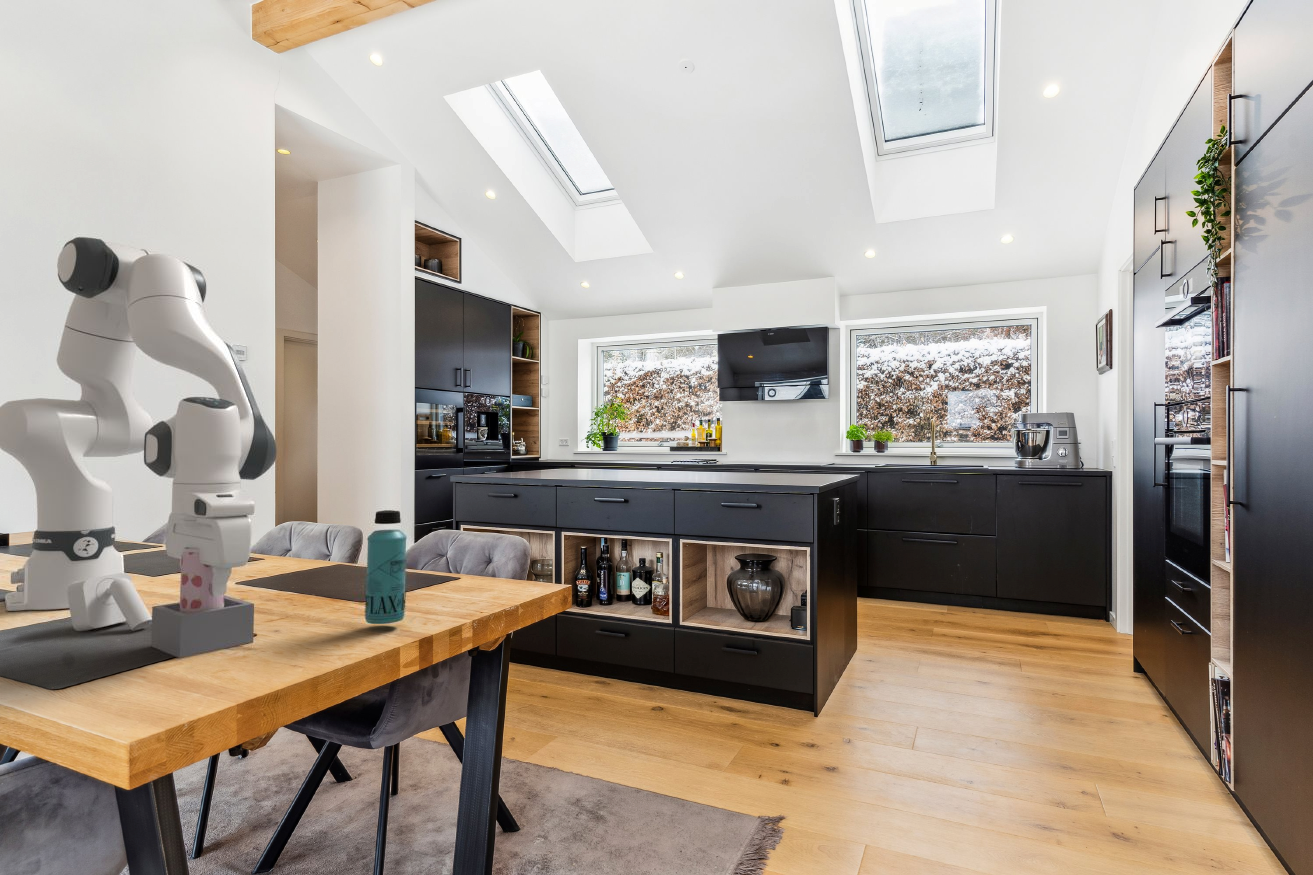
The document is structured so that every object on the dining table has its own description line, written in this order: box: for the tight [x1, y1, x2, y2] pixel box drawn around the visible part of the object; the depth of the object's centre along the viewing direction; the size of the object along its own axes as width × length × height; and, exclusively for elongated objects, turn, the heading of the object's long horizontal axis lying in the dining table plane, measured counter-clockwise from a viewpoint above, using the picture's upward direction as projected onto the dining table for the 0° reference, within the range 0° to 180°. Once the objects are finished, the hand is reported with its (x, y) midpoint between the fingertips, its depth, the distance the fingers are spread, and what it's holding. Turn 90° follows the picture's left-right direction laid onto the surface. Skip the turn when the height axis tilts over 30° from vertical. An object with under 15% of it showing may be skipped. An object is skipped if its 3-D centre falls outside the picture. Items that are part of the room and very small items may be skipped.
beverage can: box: [179, 547, 225, 614], centre depth 103 cm, size 6×6×15 cm
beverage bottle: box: [364, 509, 408, 625], centre depth 114 cm, size 6×7×20 cm
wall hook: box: [67, 572, 152, 632], centre depth 111 cm, size 8×10×10 cm
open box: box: [150, 594, 255, 659], centre depth 103 cm, size 10×10×6 cm
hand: (204, 591), depth 103 cm, fingers open, 7 cm apart
